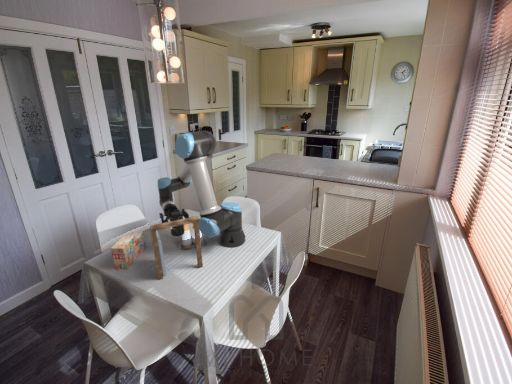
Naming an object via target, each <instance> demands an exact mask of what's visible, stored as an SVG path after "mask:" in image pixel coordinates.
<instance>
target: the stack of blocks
mask: <svg viewBox="0 0 512 384" xmlns="http://www.w3.org/2000/svg"><path fill="white" fill-rule="evenodd" d="M146 247H147V246H146V241H145V237H144V232H143V231H141V232H135V231H134V232H131V233H130V234H129V235H123V236H121V237H120V239H118V241H116V243H114V245H112V247H110V251H111V252H110V253H111V256H112V260H113V263H114V264H113V266H114V269H115V270H128V269H129V268H130V267H131V266H132V265H133V263H134V262H135V261H136V260H137V258H138V257H139V255H140V254H141V253H142V252H143V251H144V250H145V248H146Z"/></svg>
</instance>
